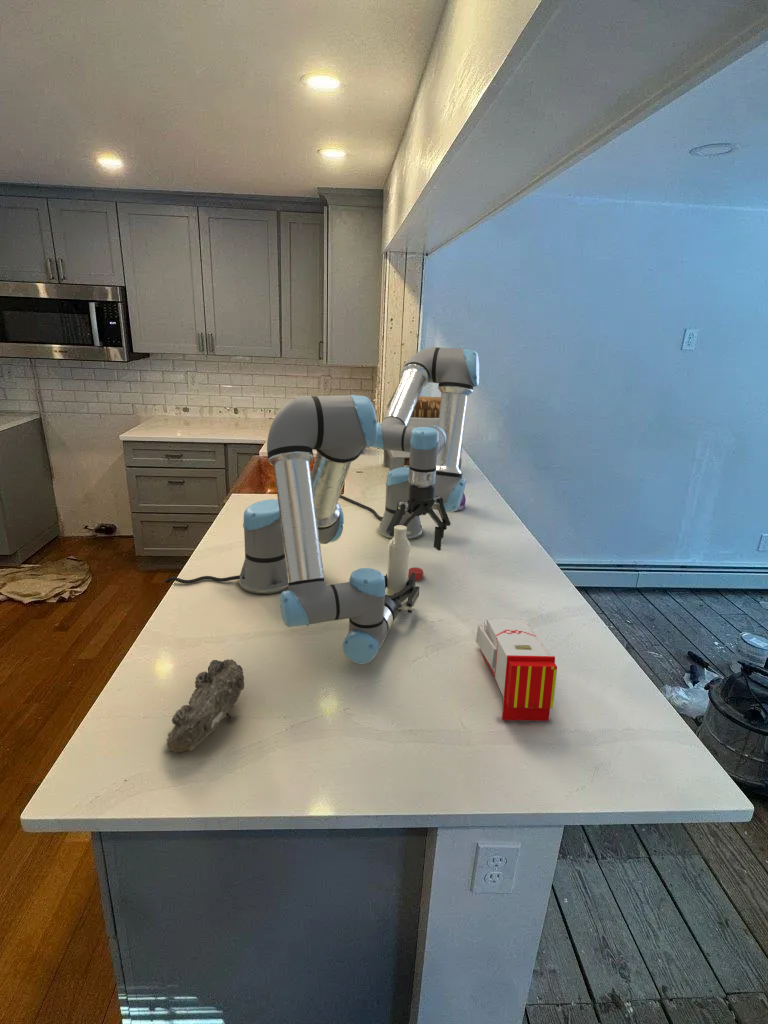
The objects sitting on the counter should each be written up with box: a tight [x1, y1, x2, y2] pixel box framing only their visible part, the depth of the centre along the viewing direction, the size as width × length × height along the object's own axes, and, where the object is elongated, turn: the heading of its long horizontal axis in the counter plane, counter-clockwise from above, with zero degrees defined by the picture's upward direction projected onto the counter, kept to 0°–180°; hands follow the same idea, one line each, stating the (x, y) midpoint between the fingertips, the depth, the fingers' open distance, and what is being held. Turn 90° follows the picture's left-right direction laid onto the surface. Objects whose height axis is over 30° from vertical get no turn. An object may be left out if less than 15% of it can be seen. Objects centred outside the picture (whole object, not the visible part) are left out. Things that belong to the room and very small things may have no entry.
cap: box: [408, 566, 424, 582], centre depth 168 cm, size 4×4×2 cm
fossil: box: [166, 658, 245, 754], centre depth 106 cm, size 22×10×15 cm
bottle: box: [385, 525, 411, 604], centre depth 148 cm, size 6×6×22 cm
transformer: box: [383, 385, 465, 472], centre depth 268 cm, size 34×33×41 cm
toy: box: [475, 618, 558, 722], centre depth 122 cm, size 12×13×30 cm
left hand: (402, 575), depth 155 cm, fingers closed on bottle, 6 cm apart
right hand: (417, 552), depth 166 cm, fingers open, 13 cm apart
